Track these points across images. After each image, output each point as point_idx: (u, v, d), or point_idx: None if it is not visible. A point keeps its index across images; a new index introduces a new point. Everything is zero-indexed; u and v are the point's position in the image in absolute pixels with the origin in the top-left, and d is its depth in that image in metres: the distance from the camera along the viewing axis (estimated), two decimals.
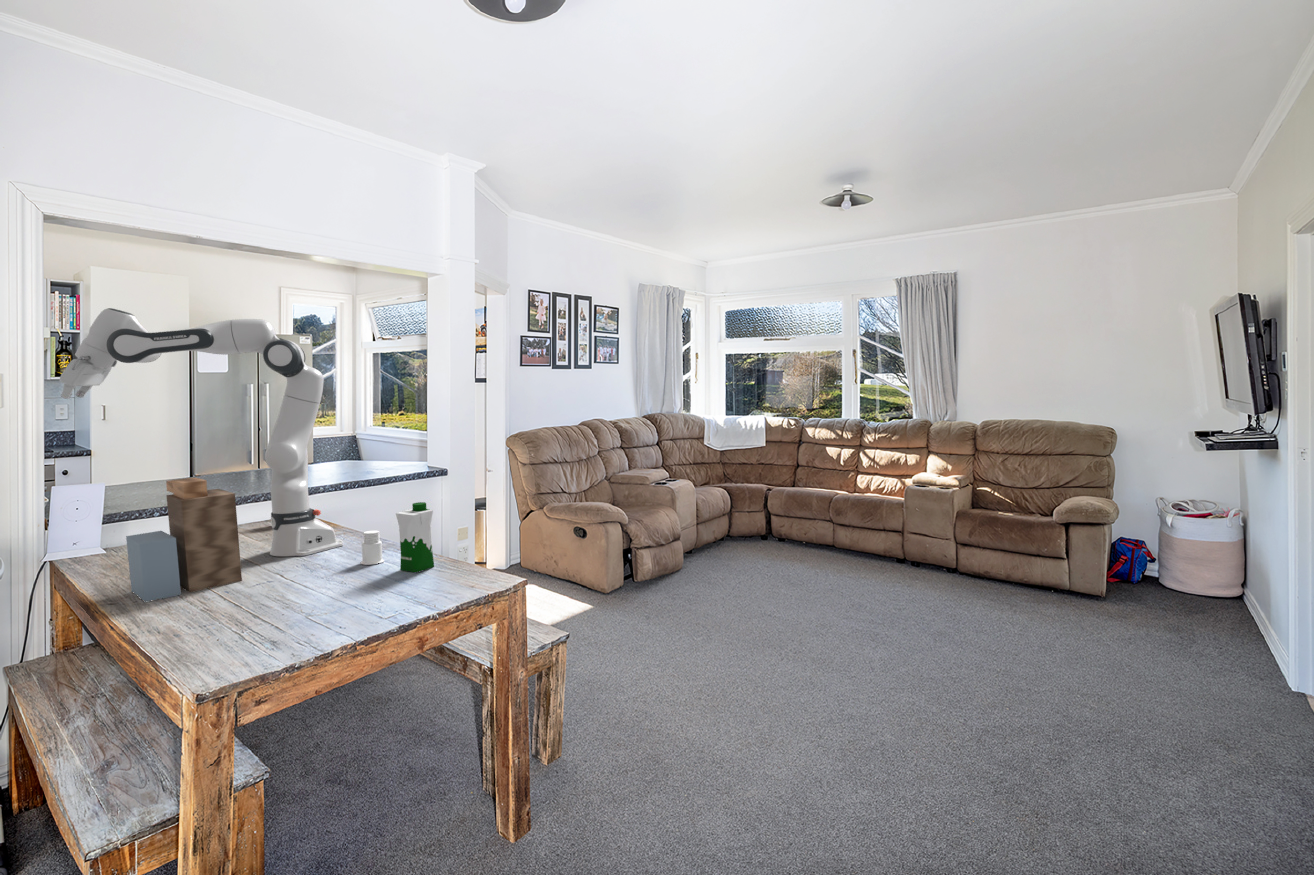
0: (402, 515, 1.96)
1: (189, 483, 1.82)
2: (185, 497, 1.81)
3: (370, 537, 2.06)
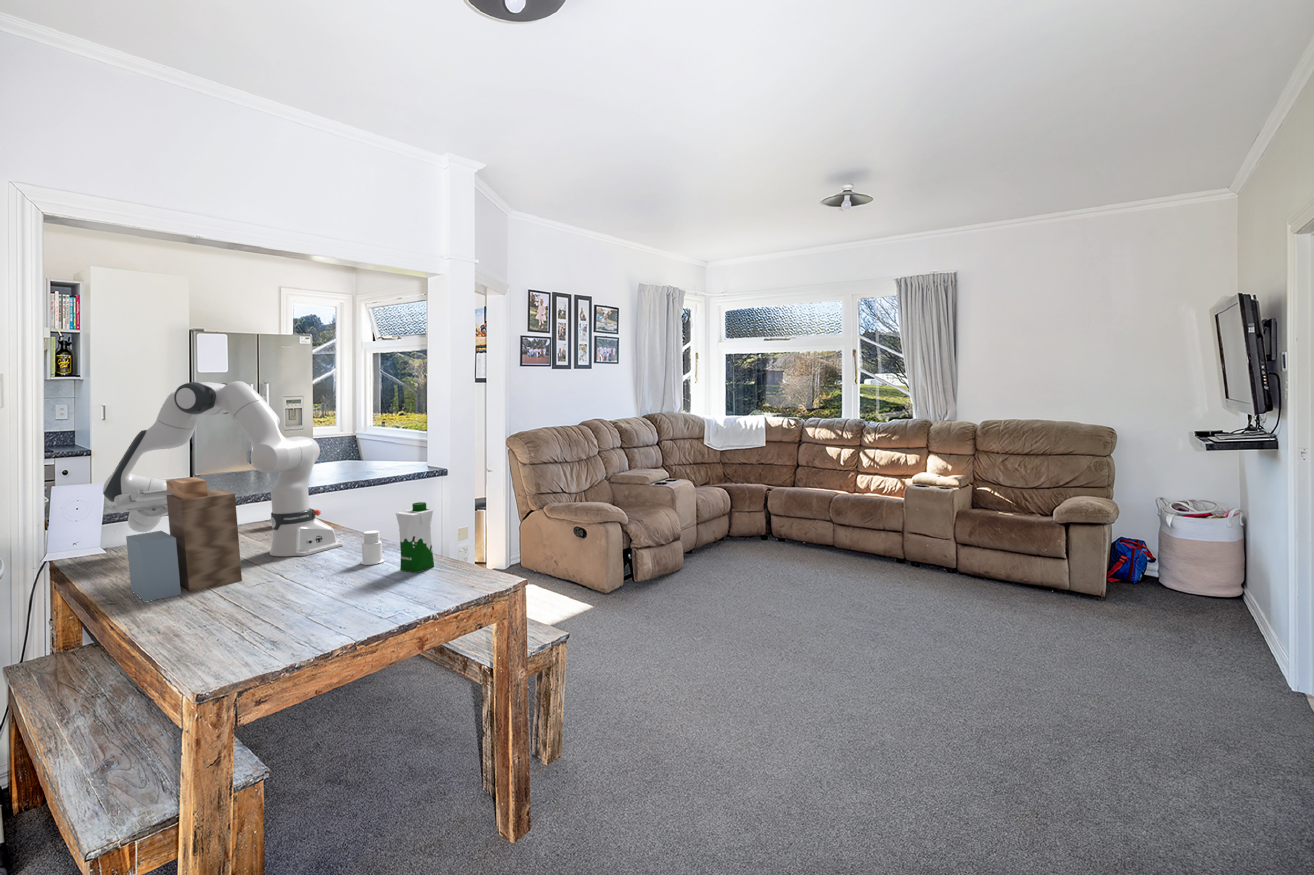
0: (402, 515, 1.96)
1: (189, 483, 1.82)
2: (185, 497, 1.81)
3: (370, 537, 2.06)
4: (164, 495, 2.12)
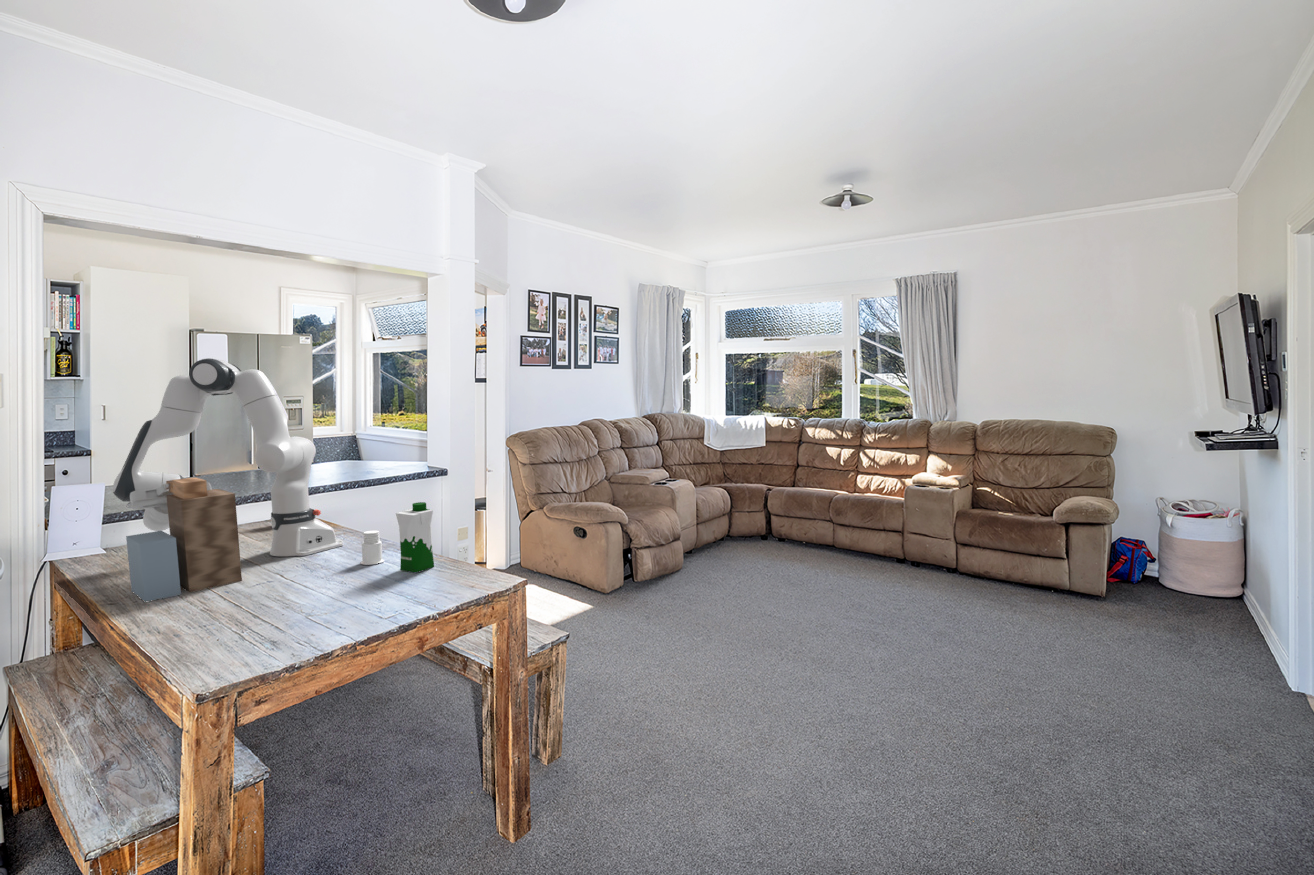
0: (402, 515, 1.96)
1: (189, 483, 1.82)
2: (185, 497, 1.81)
3: (370, 537, 2.06)
4: None
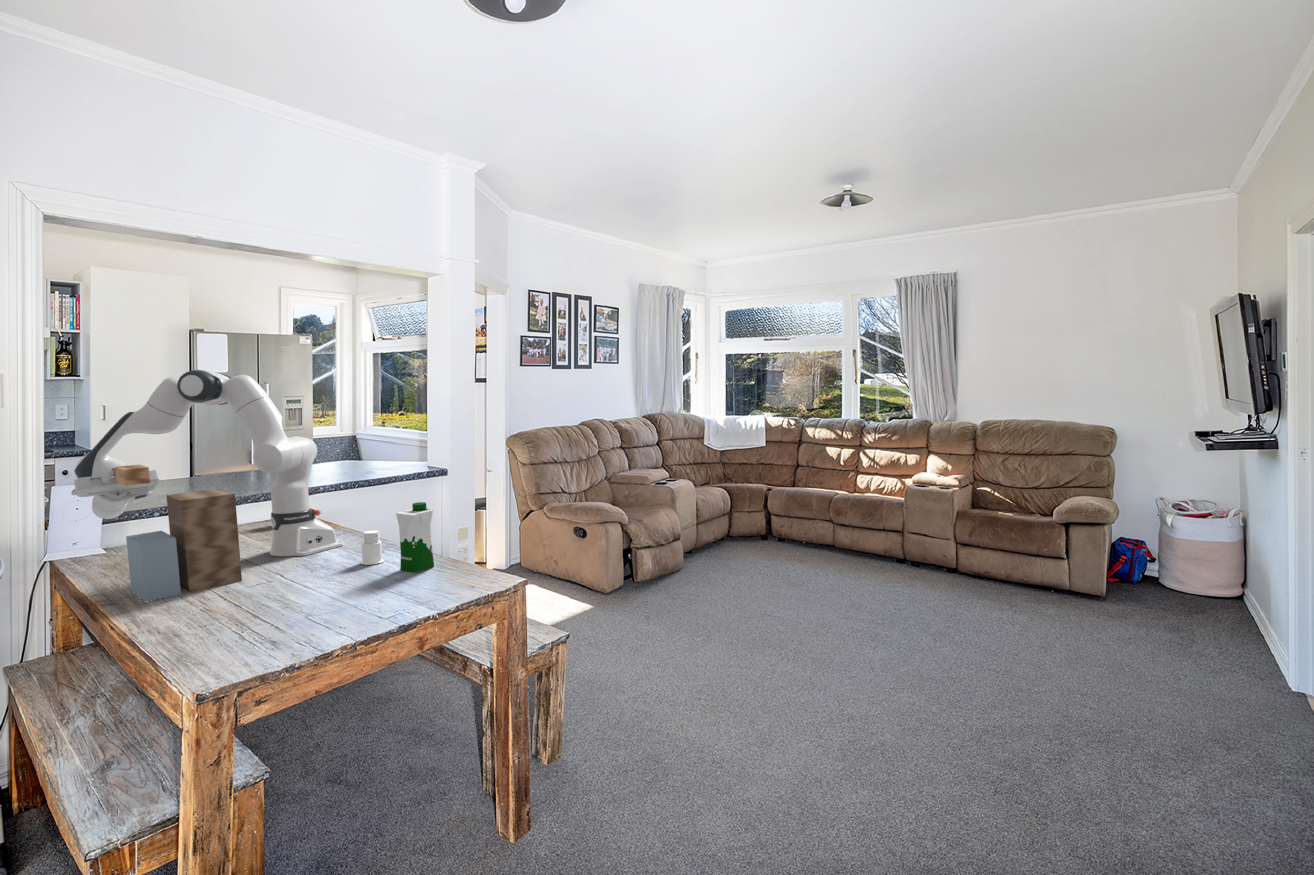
0: (402, 515, 1.96)
1: (130, 470, 1.83)
2: (126, 484, 1.82)
3: (370, 537, 2.06)
4: None
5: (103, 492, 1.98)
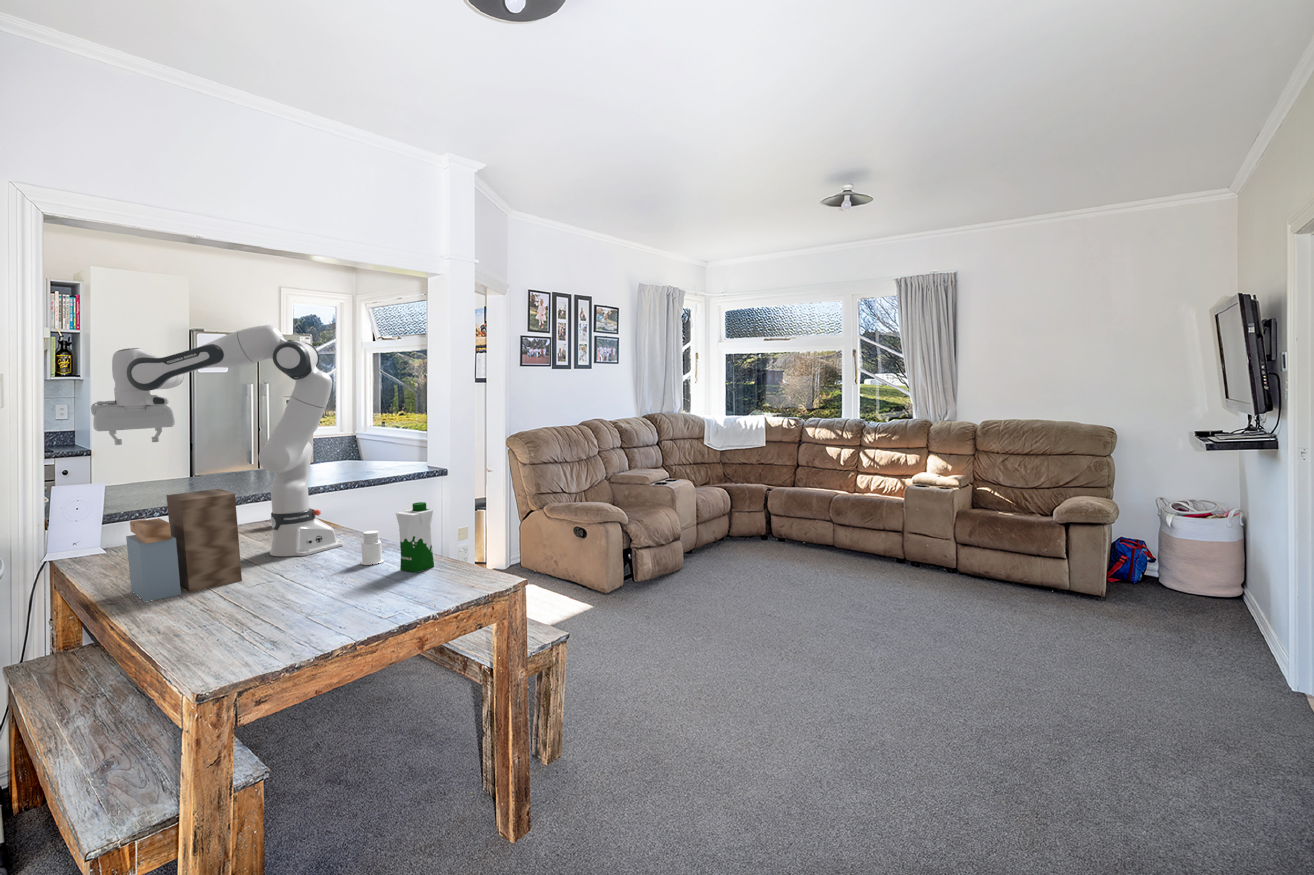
0: (402, 515, 1.96)
1: (151, 526, 1.74)
2: (147, 541, 1.73)
3: (370, 537, 2.06)
4: None
5: None
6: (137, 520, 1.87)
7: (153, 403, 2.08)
